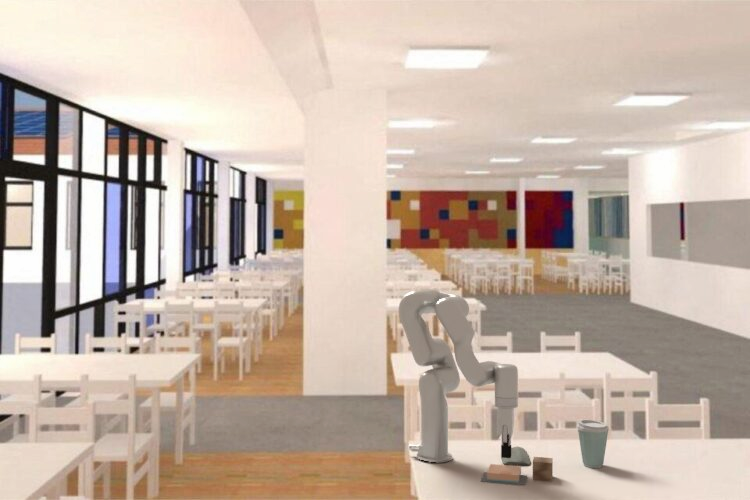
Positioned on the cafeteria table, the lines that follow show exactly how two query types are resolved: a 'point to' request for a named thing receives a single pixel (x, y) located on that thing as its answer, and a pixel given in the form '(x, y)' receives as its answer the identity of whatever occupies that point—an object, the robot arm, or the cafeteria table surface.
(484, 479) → the mat
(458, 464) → the cafeteria table surface
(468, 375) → the robot arm
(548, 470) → the walnut block
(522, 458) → the stone slab
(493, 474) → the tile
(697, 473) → the cafeteria table surface
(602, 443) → the disposable coffee cup
